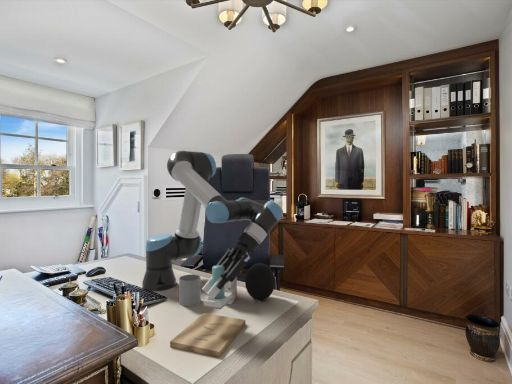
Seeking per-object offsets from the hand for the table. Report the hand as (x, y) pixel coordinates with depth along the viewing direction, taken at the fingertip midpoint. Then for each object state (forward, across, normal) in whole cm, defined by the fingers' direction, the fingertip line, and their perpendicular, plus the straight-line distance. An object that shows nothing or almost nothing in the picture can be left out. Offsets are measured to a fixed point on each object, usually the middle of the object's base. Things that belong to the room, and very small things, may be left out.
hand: (207, 293), depth 94 cm
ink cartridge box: (-3, +19, -20) cm, 28 cm away
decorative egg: (-11, +13, -29) cm, 33 cm away
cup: (+7, +25, -10) cm, 28 cm away
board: (+9, -3, -8) cm, 12 cm away
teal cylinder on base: (0, 0, -5) cm, 5 cm away
